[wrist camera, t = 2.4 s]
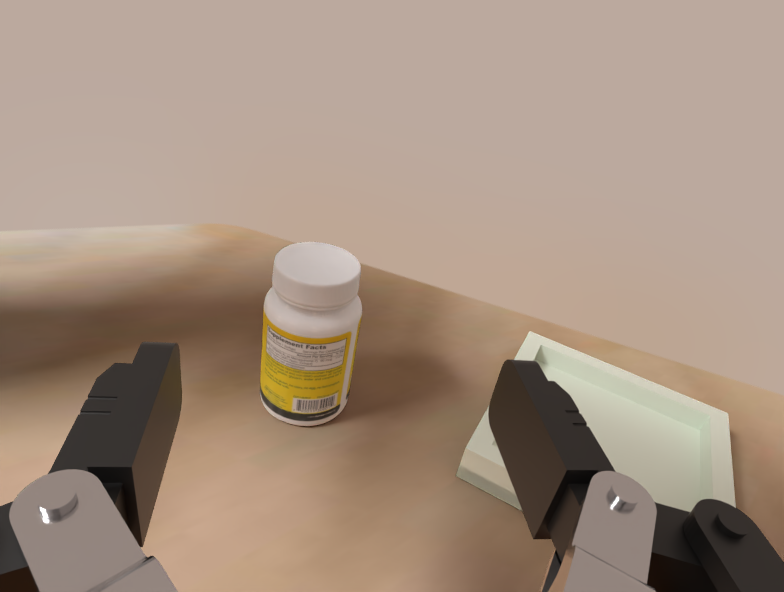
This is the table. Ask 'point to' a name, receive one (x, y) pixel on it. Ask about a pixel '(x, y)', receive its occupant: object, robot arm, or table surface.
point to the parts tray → (623, 431)
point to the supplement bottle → (310, 333)
